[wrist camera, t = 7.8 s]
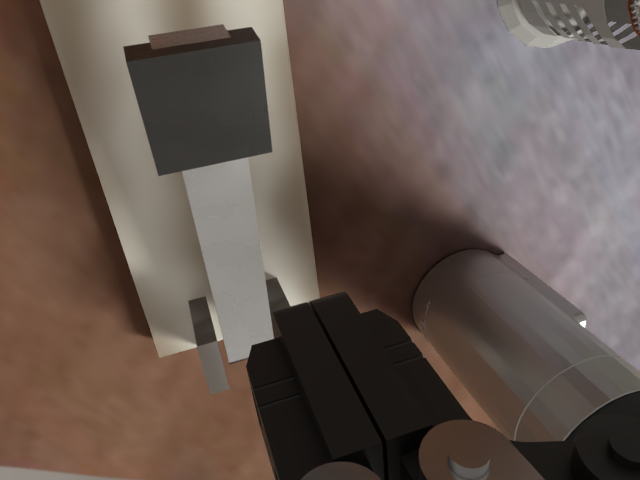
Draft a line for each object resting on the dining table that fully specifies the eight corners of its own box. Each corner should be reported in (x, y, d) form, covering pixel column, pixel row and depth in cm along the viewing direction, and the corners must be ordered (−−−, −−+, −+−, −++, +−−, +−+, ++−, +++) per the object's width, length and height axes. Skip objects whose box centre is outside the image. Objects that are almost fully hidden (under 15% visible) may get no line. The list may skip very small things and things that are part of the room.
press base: (267, -52, 29) (303, -53, 24) (313, 296, 41) (344, 353, 36) (37, -24, 27) (13, -18, 21) (157, 340, 39) (164, 408, 33)
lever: (246, 20, 22) (260, 40, 20) (284, 334, 36) (294, 360, 34) (122, 39, 21) (125, 62, 19) (210, 355, 35) (217, 383, 33)
